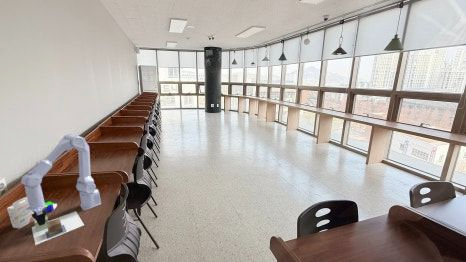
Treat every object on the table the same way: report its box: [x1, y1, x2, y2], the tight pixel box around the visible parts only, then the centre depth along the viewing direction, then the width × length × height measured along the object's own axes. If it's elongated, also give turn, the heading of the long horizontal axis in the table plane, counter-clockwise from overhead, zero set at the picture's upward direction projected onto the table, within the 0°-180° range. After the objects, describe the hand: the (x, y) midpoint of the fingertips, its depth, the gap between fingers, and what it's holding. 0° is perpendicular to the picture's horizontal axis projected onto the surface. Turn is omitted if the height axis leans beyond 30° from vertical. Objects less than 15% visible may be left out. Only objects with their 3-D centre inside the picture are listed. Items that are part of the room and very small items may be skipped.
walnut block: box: [46, 218, 63, 237], centre depth 108 cm, size 5×5×5 cm
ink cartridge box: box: [6, 196, 34, 229], centre depth 114 cm, size 9×5×15 cm, turn 168°
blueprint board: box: [31, 211, 85, 246], centre depth 112 cm, size 19×18×1 cm
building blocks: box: [43, 198, 58, 213], centre depth 128 cm, size 15×13×4 cm
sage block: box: [33, 214, 50, 232], centre depth 111 cm, size 5×5×5 cm
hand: (41, 221), depth 111 cm, fingers open, 7 cm apart
